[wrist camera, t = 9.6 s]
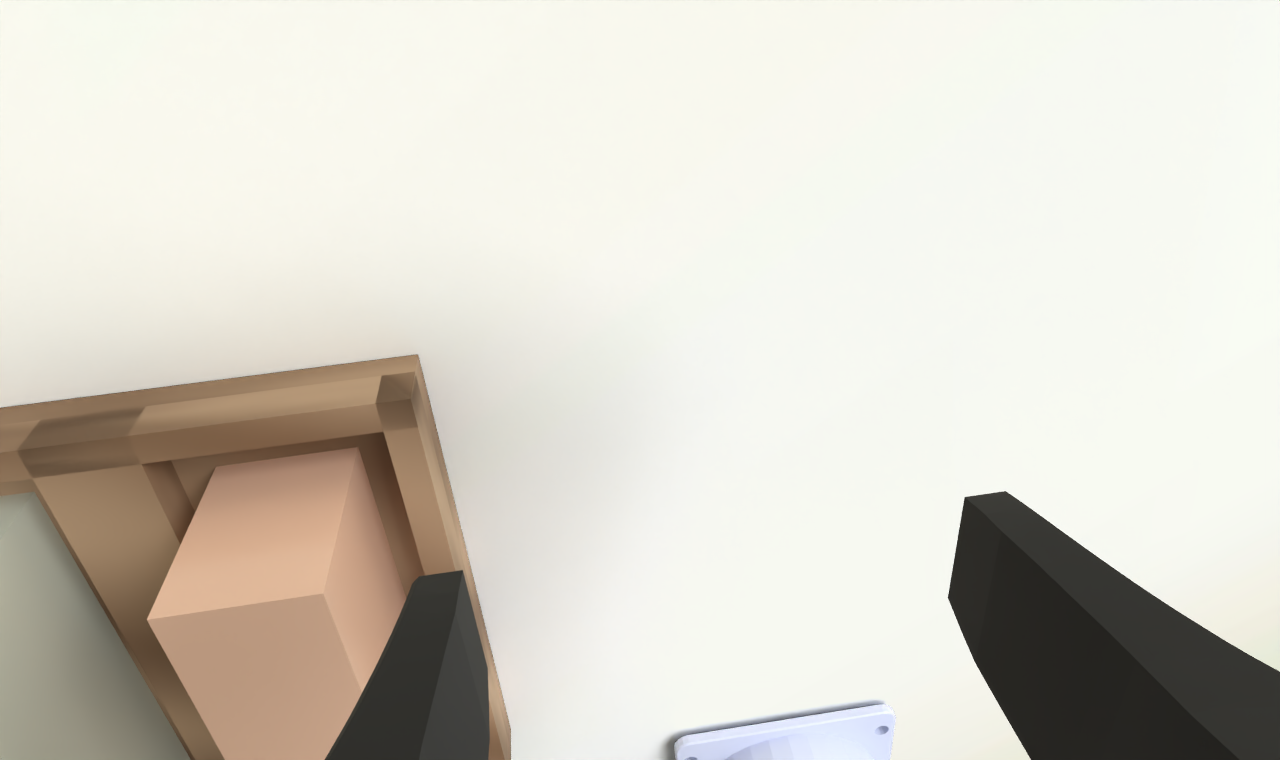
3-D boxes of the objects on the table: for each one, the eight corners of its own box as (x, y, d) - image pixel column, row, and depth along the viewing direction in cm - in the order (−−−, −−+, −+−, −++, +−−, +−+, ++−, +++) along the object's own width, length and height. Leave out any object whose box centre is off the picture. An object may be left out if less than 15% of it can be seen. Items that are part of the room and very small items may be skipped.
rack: (510, 730, 30) (511, 783, 28) (55, 801, 29) (27, 862, 27) (418, 354, 22) (410, 398, 20) (-221, 436, 21) (-285, 490, 19)
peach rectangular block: (445, 721, 28) (434, 878, 24) (334, 738, 28) (304, 901, 24) (358, 447, 22) (323, 593, 18) (215, 466, 22) (146, 619, 18)
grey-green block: (191, 761, 27) (135, 929, 23) (76, 779, 27) (-3, 953, 23) (34, 491, 21) (-80, 653, 17) (-116, 511, 21) (-269, 680, 17)
